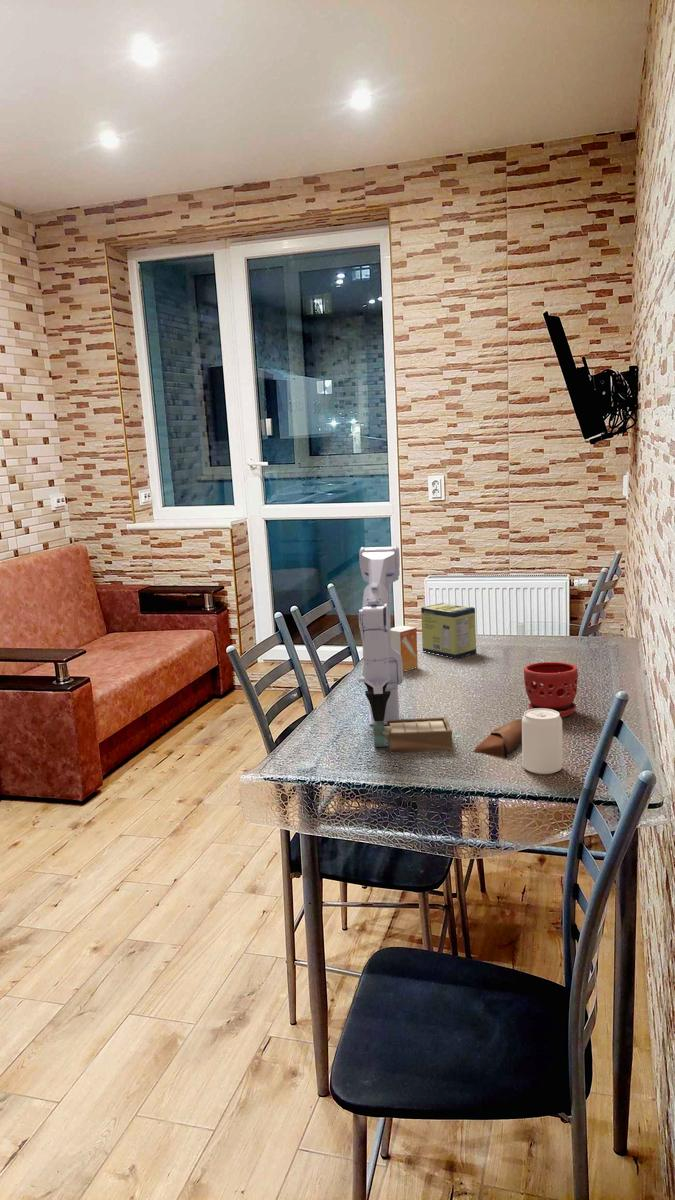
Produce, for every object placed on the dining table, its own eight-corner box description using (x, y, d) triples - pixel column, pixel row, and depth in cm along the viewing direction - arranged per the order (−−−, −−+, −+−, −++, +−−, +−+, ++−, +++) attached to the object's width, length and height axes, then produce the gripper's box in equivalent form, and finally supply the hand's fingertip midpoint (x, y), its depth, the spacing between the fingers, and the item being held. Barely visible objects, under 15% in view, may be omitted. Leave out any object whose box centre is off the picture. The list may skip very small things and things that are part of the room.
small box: (401, 673, 246) (400, 632, 244) (386, 670, 251) (384, 629, 249) (418, 667, 252) (417, 627, 250) (403, 664, 256) (401, 624, 254)
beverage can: (544, 779, 162) (544, 722, 160) (514, 768, 168) (513, 713, 166) (570, 768, 166) (570, 713, 164) (539, 758, 173) (539, 705, 171)
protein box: (442, 646, 278) (441, 602, 275) (477, 653, 266) (476, 607, 264) (421, 652, 272) (419, 607, 269) (455, 659, 260) (454, 612, 257)
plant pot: (584, 708, 204) (584, 662, 202) (567, 723, 194) (567, 675, 192) (535, 702, 212) (535, 658, 210) (516, 716, 201) (515, 670, 199)
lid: (373, 738, 189) (372, 717, 188) (442, 735, 189) (442, 714, 188) (375, 750, 182) (374, 728, 181) (446, 747, 182) (446, 725, 181)
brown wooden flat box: (387, 737, 190) (387, 719, 190) (446, 734, 190) (446, 717, 190) (390, 752, 181) (389, 734, 180) (452, 750, 180) (451, 731, 180)
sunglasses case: (498, 727, 194) (511, 706, 191) (523, 744, 191) (537, 723, 188) (471, 752, 178) (485, 729, 176) (498, 771, 176) (512, 749, 173)
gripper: (357, 651, 189) (360, 706, 191) (358, 667, 175) (361, 726, 177) (387, 650, 189) (389, 705, 191) (391, 665, 175) (393, 725, 177)
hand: (378, 715), depth 184 cm, fingers open, 7 cm apart
